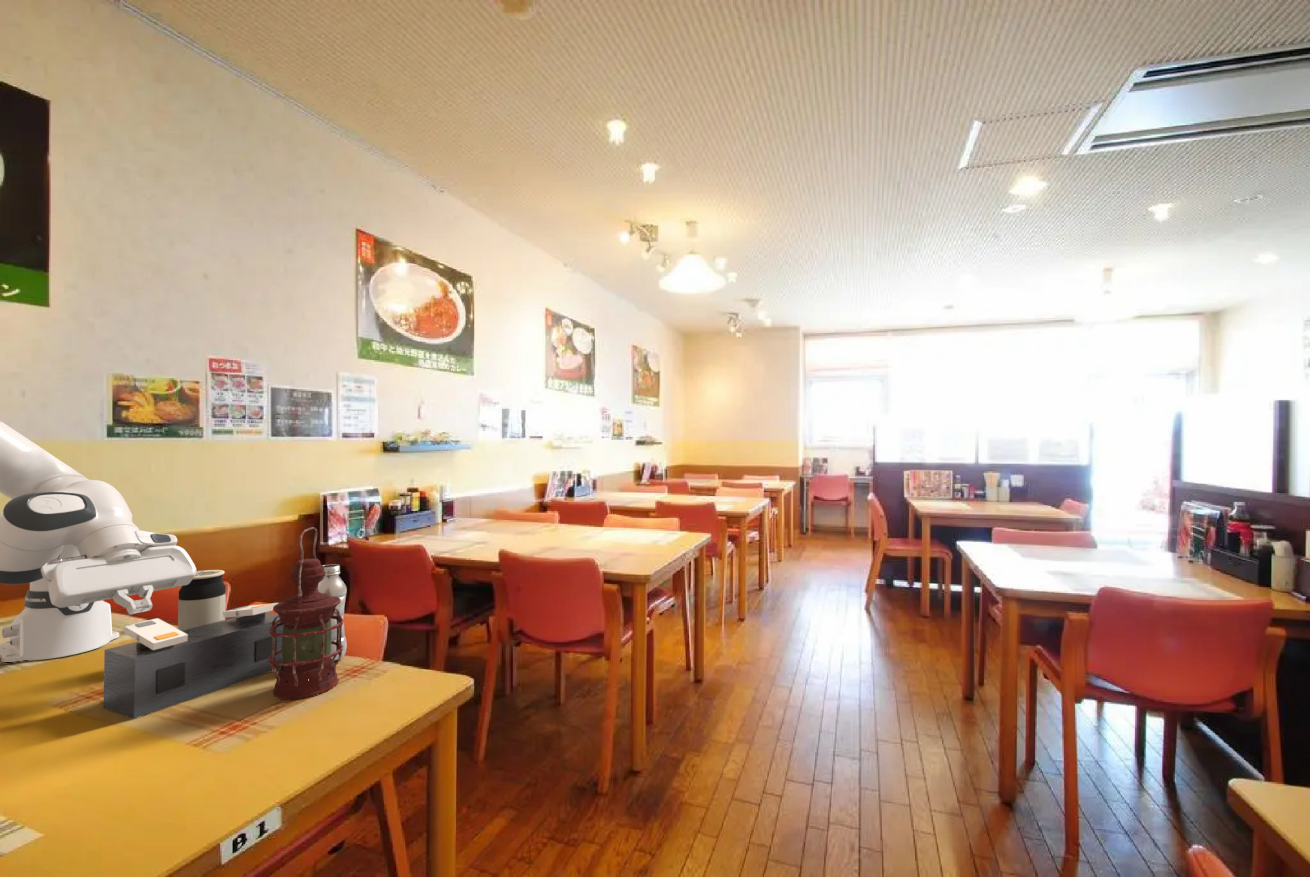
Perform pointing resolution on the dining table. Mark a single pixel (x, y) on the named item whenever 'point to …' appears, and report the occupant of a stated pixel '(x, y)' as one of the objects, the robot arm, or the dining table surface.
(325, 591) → the silver tall rounded piece
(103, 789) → the dining table surface
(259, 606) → the block
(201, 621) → the travel mug
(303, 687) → the lantern
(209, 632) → the switch box
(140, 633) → the rocker on
